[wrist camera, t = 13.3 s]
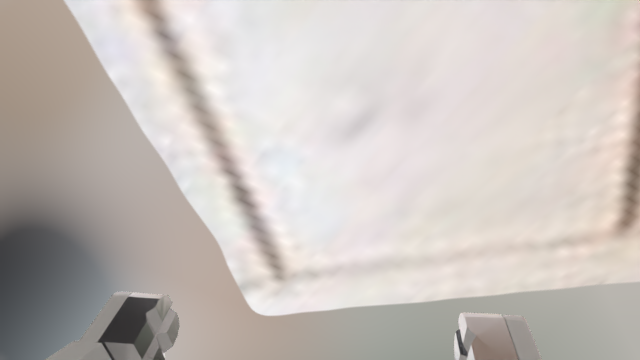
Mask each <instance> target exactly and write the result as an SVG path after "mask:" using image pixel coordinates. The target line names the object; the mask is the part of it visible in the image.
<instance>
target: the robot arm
mask: <svg viewBox="0 0 640 360" xmlns="http://www.w3.org/2000/svg"><path fill="white" fill-rule="evenodd" d="M171 305H172V301H171V299H170V297H169V295H158V294H146V293H135V292H121V291H118V292H116V293H115V294H113V295H112V296H111V297H110V299H109V300H108V301H107V303H106V304H105V306H104V307H103V308H102V310H101V311H100V313H99V314H98V315H97V317H96V318H95V319H94V321H93V322H92V323H91V325H90V326H89V328H88V329H87V330H86V332H85V333H84V335H83V336H82V337H81V339H80V340H79V341H73V342H71V343H70V344H68V345H67V346H65V347H64V348H62V349H61V350H59V351H58V352H56V353H55V354H53V355H52V356H50V357H49V358H47V359H45V360H166V359H165V354H164V353H165V352H166V351H167V350H168V349H170V348H171V347H172V346H173V345H174V342H175V340H176V338H177V335H178V330H179V318H178V315H177V313H176V312H175V311H173V310H172V309H171V308H170V307H171ZM458 323H459V328H460V329H459V330H457V331H456V333H455V338H454V355H455V360H542V358H541V356H540V353H539V351H538V348H537V346H536V343H535V341H534V338H533V336H532V334H531V331H530V328H529V326H528V323H527V321H526V319H525V318H524V317H523V316H514V315H500V314H484V313H463V312H462V313H461V314H460V315H459V319H458Z"/></svg>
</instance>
